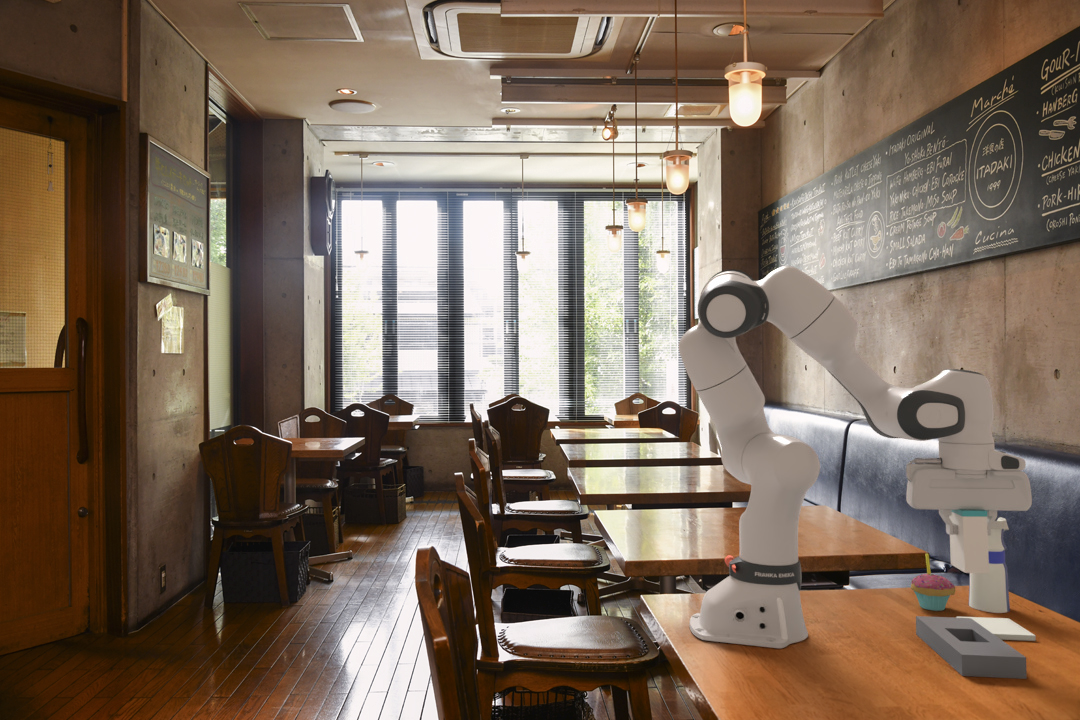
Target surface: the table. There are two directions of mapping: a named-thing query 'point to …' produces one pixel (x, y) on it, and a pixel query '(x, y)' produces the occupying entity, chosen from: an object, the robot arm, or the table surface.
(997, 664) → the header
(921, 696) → the table surface
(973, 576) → the water bottle
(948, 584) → the cupcake
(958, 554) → the plug
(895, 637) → the table surface
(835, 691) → the table surface
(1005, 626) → the mat
